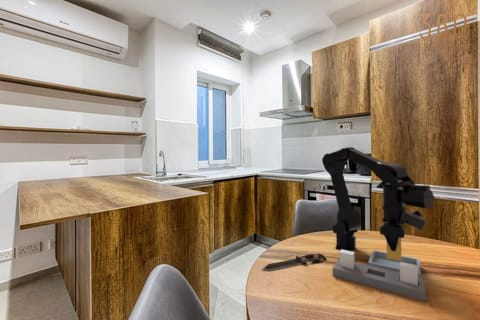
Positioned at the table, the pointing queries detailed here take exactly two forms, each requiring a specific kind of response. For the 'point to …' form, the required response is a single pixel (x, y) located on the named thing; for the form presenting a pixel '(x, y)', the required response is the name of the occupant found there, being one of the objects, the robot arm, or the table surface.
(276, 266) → the black knife
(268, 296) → the table surface
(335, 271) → the fuse holder
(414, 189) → the robot arm
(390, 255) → the block
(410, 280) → the block
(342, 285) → the table surface
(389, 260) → the tray
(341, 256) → the fuse left
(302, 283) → the table surface
